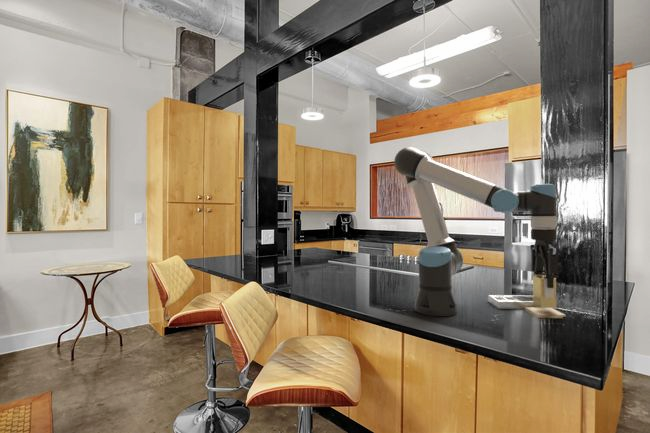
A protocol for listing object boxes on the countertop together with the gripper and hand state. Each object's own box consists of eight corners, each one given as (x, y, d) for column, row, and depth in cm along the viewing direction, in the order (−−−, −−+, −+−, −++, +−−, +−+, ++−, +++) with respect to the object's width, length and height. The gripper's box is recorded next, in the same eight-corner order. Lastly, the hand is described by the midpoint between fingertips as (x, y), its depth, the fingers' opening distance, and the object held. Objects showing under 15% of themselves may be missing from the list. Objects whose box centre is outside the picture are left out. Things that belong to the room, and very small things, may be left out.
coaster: (537, 319, 114) (537, 314, 114) (524, 311, 123) (524, 307, 123) (565, 319, 114) (565, 315, 114) (550, 311, 123) (550, 307, 123)
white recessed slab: (498, 309, 126) (498, 301, 126) (488, 302, 136) (488, 294, 136) (549, 310, 124) (549, 301, 124) (535, 302, 134) (535, 295, 134)
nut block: (540, 307, 116) (540, 278, 116) (533, 303, 121) (533, 275, 121) (556, 307, 116) (556, 278, 116) (548, 303, 121) (547, 275, 121)
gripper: (571, 229, 109) (571, 301, 109) (540, 227, 127) (541, 289, 127) (546, 230, 109) (547, 301, 110) (519, 227, 127) (520, 289, 128)
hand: (544, 294), depth 118 cm, fingers closed on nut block, 5 cm apart
